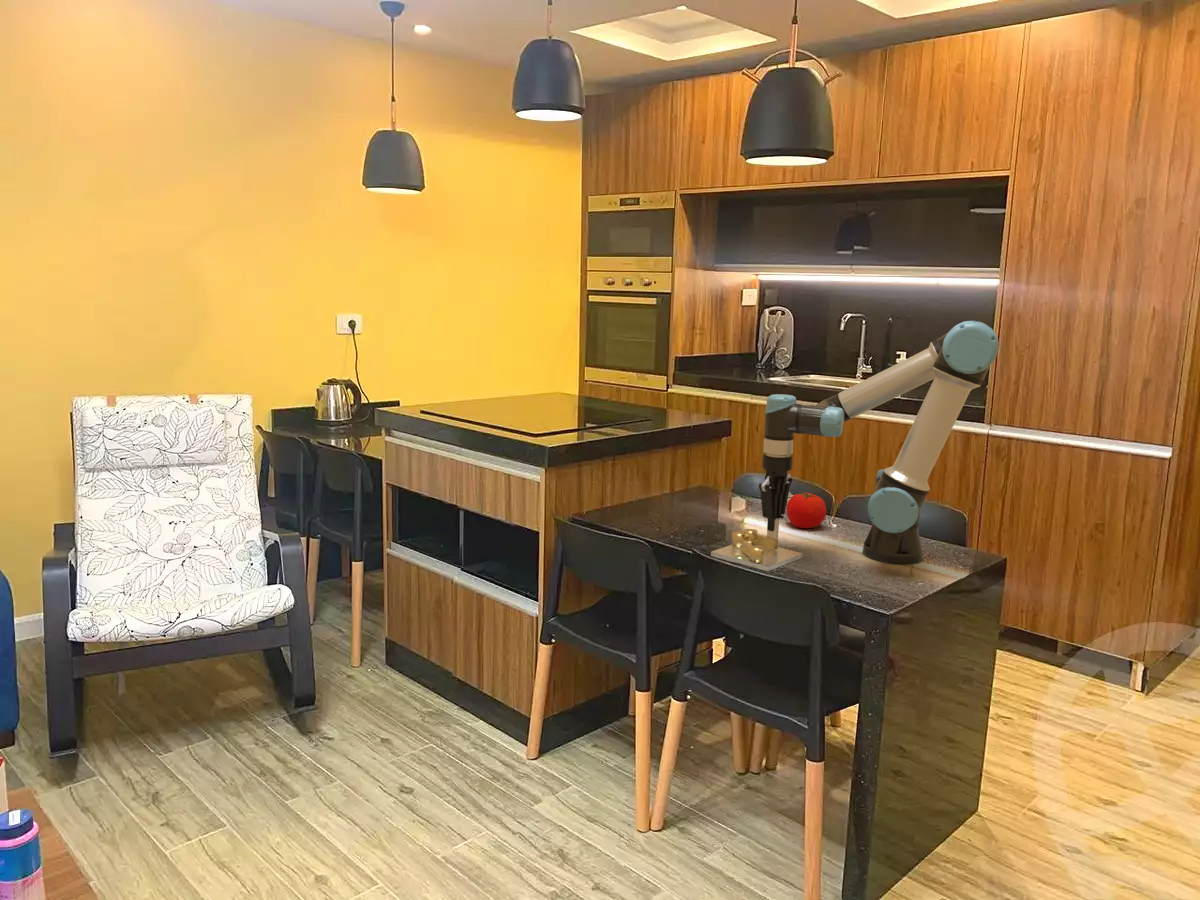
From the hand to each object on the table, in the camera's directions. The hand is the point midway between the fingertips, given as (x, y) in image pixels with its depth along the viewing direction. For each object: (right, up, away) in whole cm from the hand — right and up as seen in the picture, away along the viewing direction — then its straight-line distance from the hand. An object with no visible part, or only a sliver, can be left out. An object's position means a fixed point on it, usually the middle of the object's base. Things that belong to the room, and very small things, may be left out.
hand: (772, 541), depth 235 cm
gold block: (-3, -1, +1) cm, 3 cm away
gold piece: (-7, -3, -9) cm, 12 cm away
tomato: (+15, +1, +28) cm, 32 cm away
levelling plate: (-5, -3, -4) cm, 7 cm away
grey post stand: (+17, +6, +54) cm, 57 cm away
